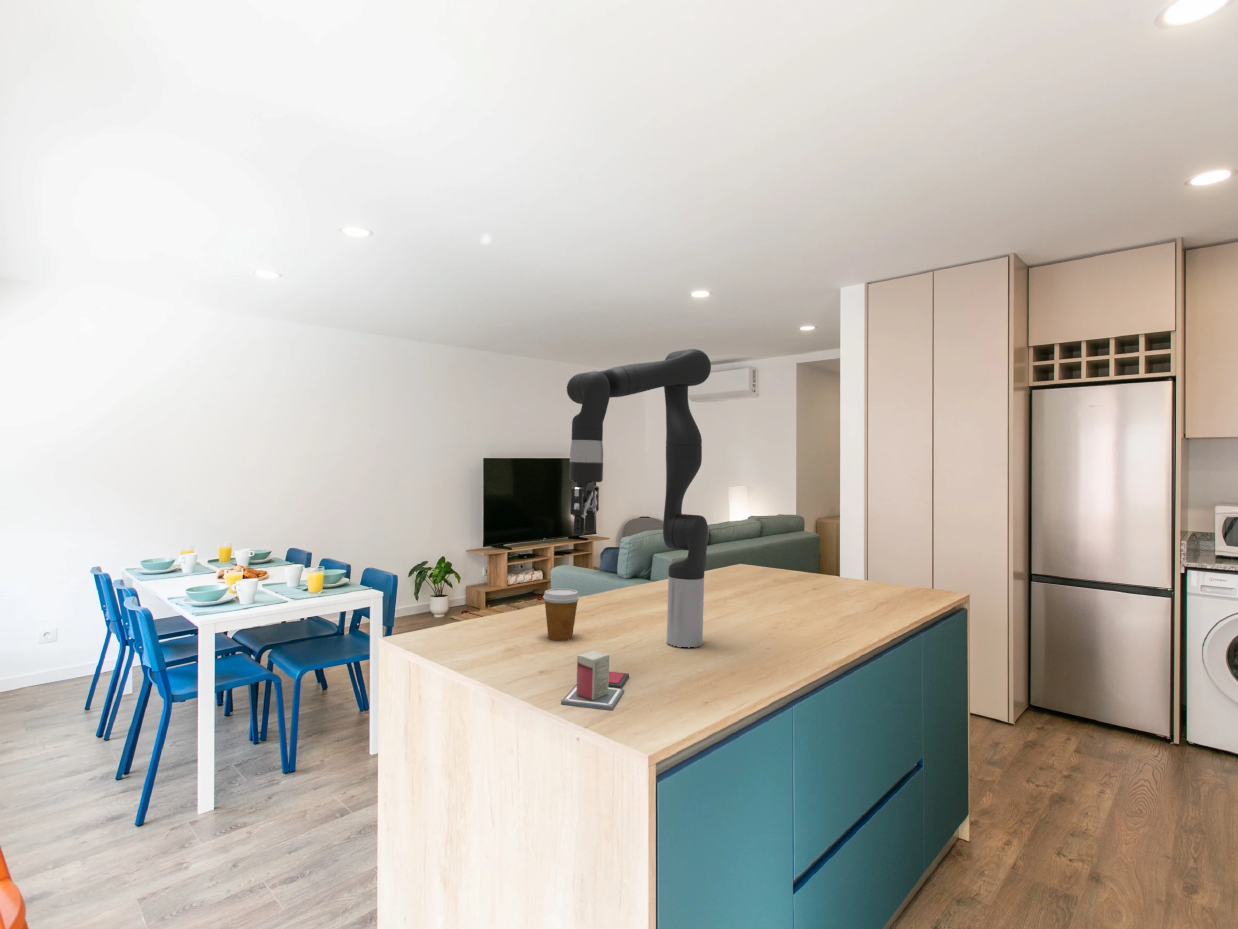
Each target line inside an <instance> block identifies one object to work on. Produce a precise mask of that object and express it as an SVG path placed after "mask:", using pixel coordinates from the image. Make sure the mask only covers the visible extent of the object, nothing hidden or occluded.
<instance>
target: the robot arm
mask: <svg viewBox="0 0 1238 929" xmlns="http://www.w3.org/2000/svg"><path fill="white" fill-rule="evenodd" d="M711 370H712V364H711V360H710V358H709V356H708V355H707V354H706V353H705V352H704V351H702V350H701V349H696V348H692V349H691V348H689V349H683V350H677V351H673V352H670V353H668V355H667V356H666V357H665V358H664V360H658V361H657V360H656V361H650V362H648V361H647V362H641V363H633V364H631V363H629V364H625V365H620V366H615V367H612V368H608V369H605V370H599V371H598V370H594V371H588V372H582V373H578V374H574V375H573V376H572V377H571V378H570V379H569V380H568V382H567V385H566V393H567V395H568V398H570V400H571V401H572V402H574V403H576V404H580V405H581V408H580V412H578V414H576V415H575V416H574V417H573V418H572V422H571V443H570V447H569V448H570V450H569V474H568V475H569V476H568V478H569V481H570V482H573V483H577V484H576V486H573V487H571V489H570V491H571V494H570V512H569V513H570V515H571V516H572V517H573V534H574V535H577V536H579V535H580V536H583V535H584V534H585V532H594V531H595V528H596V515H597V512H599V510H600V508H599V503H600V502H599V501H600V500H599V499H600V498H599V496H600V495H599V494H600V491H599V490H600V487H599V486H598V485H595V483H601V482H603V481H604V480H603V478H604V477H603V476H604V444H603V440H604V439H603V438H604V437H603V435H604V430H603V429H604V421H605V418H606V414H607V410H608V407H609V402H610V398H621V397H626V396H627V397H628V396H632V395H635V394H639V393H643V392H647V391H651V390H655V389H659V388H663V389H664V390H663V391H664V400H665V402H664V403H665V420H666V421H665V427H666V429H665V431H666V434H665V435H666V436H665V437H666V438H665V466H666V467H665V473H666V474H665V498H664V499H665V500H664V509H663V510H664V511H663V524H662V536H663V542H664V545H665V546H666V547H667V549H671V550H672V549H673V550H680V551H681V550H682V551H688V553H687V557H686V558H685V559H683V560H681V561H677V562H674V563H671V564H670V565H669V566H668V572H667V573H668V578H667V612H666V613H667V620H666V621H667V622H666V644H668V645H669V644H670V645H669V646H672V645H673V646H672V647H675V646H677V647H676V648H681V647H688V648H687V649H691V648H690V647H694V648H699V647H701V646H703V636H704V635H703V634H704V600H705V599H704V596H705V591H704V590H705V570H706V565H707V550H708V540H709V539H708V538H709V526H708V522H707V519H706V517H704V516H703V515H699V514H698V515H697V514H689V513H688V514H686V513H682V508H683V500H684V496H685V494H686V492H687V490H688V488H689V486H690V485H691V484H692V482H693V480H694V479H695V477H696V476H697V473H699V470H700V468H701V466H702V461H703V460H702V459H703V458H702V456H703V455H702V454H703V449H702V448H703V445H702V444H703V439H702V435H701V432H700V429H699V428H698V425H697V422H696V421H695V419H694V417H693V414H692V412H691V409H690V405H689V387H694V386H698V385H701V384H703V383H705V382H706V381H707V379H708V378H709V377H710V374H711ZM698 646H699V647H698Z"/></svg>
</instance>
